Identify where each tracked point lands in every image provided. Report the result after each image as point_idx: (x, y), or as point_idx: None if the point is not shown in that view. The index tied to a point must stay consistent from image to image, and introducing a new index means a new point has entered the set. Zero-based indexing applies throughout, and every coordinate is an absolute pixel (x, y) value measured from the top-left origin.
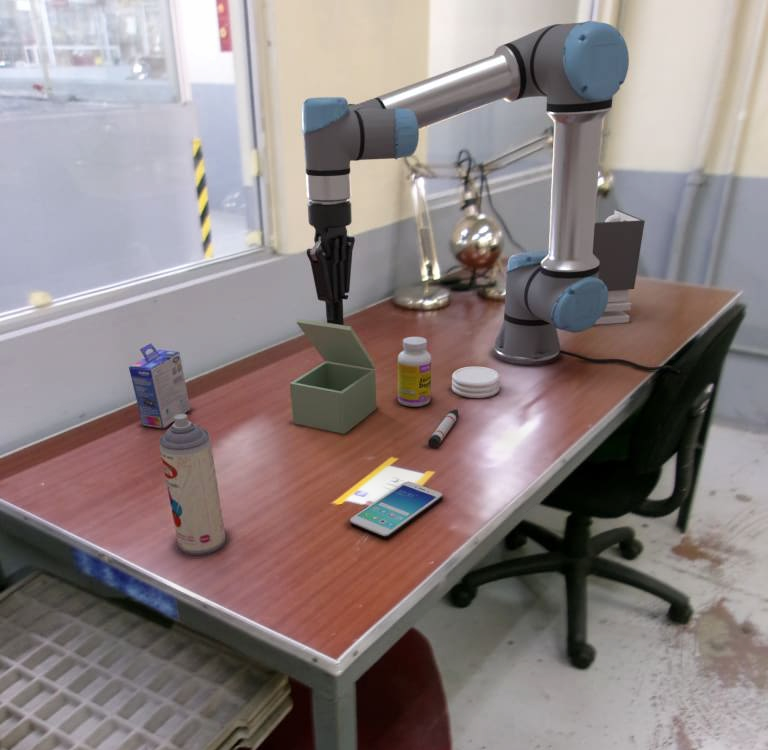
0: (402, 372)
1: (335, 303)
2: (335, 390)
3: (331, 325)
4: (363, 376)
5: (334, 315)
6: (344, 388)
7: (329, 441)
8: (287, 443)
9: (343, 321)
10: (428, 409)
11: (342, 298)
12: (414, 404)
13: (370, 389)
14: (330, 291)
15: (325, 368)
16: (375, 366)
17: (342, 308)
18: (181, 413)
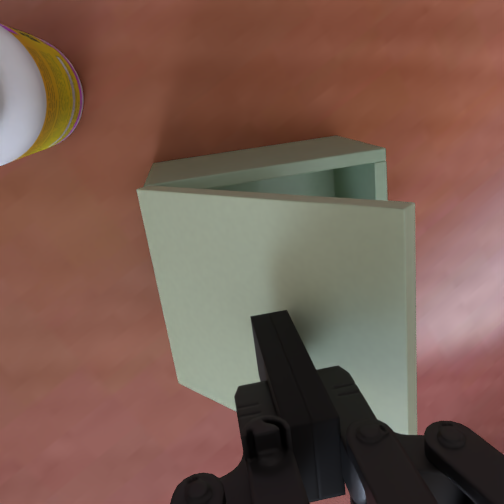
0: (55, 109)
1: (339, 428)
2: (376, 182)
3: (412, 320)
4: (222, 182)
5: (334, 381)
6: None
7: (389, 141)
8: (441, 220)
9: (261, 349)
10: (48, 14)
11: (284, 438)
12: (69, 61)
13: (187, 168)
14: (481, 475)
15: None
16: (141, 188)
17: (279, 392)
18: None
